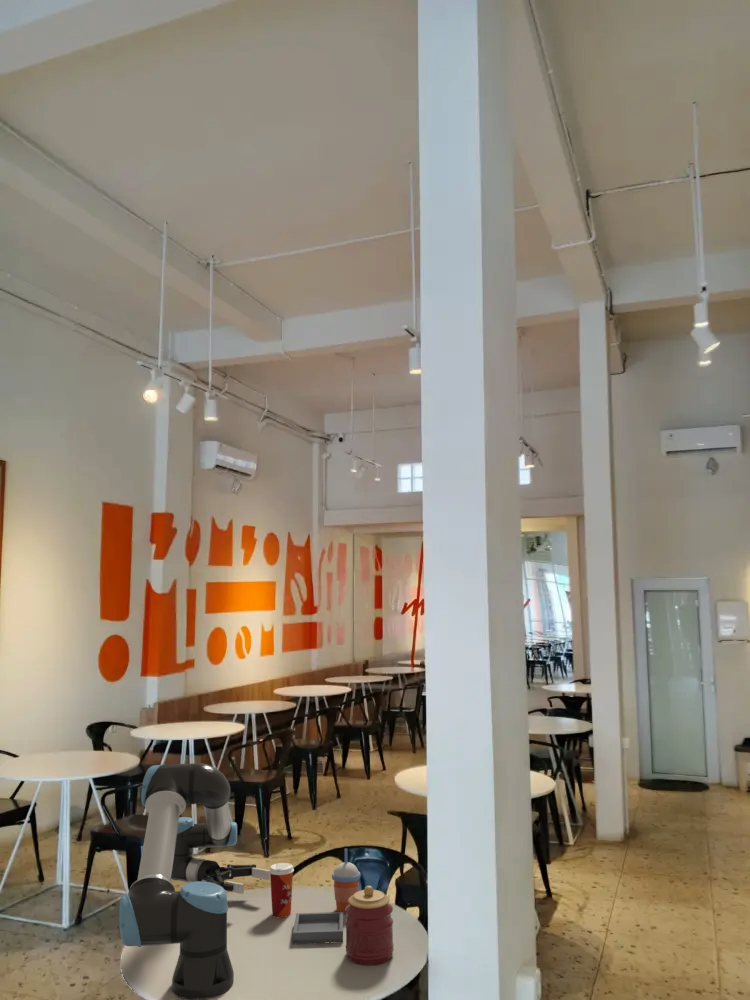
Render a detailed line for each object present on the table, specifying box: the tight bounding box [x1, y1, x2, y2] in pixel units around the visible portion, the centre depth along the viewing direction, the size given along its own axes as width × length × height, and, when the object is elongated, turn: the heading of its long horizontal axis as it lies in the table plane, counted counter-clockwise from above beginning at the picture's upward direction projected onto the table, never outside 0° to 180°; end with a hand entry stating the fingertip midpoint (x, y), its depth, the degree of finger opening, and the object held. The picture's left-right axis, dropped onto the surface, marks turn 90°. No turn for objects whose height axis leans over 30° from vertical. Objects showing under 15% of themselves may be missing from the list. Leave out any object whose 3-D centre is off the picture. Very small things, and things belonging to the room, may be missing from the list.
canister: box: [344, 885, 394, 966], centre depth 209 cm, size 13×13×18 cm
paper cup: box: [268, 862, 295, 918], centre depth 238 cm, size 8×8×14 cm
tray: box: [292, 911, 344, 945], centre depth 223 cm, size 14×14×3 cm
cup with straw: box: [331, 847, 362, 914], centre depth 241 cm, size 9×9×18 cm
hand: (256, 881), depth 243 cm, fingers open, 13 cm apart
